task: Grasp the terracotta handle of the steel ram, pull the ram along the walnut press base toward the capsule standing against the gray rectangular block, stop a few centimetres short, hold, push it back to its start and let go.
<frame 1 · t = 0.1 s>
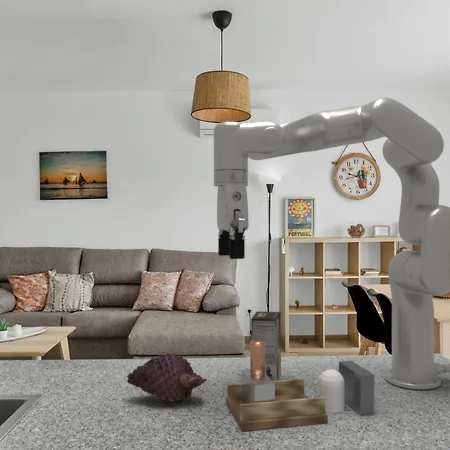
hand: (230, 256, 110), 31 cm above the kitchen counter, tool pointing down, fingers open, 9 cm apart
capsule: (331, 408, 104), on the kitchen counter
gray rectangular block: (355, 405, 105), on the kitchen counter
coffee box: (266, 380, 121), on the kitchen counter
ram: (257, 373, 100), point 8 cm above the kitchen counter, slide at 0.0 cm
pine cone: (167, 401, 108), on the kitchen counter
press base: (274, 413, 101), on the kitchen counter
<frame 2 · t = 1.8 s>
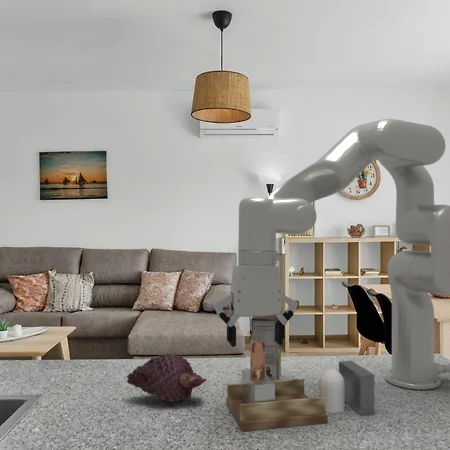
hand: (255, 344, 100), 14 cm above the kitchen counter, tool pointing down, fingers open, 9 cm apart
nothing on the kitchen counter moved.
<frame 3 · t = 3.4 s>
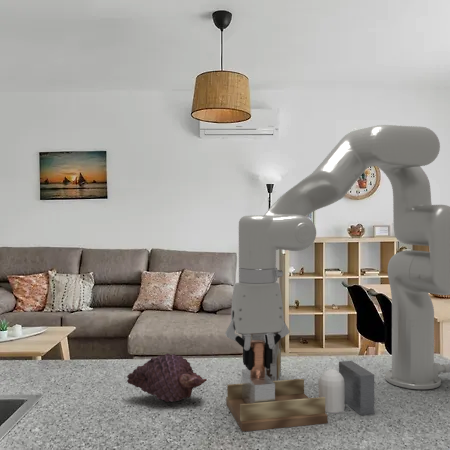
hand: (257, 366, 100), 10 cm above the kitchen counter, tool pointing down, fingers closed on ram, 3 cm apart
ram: (257, 373, 100), point 8 cm above the kitchen counter, slide at 0.0 cm, touching gripper
everything else where it was.
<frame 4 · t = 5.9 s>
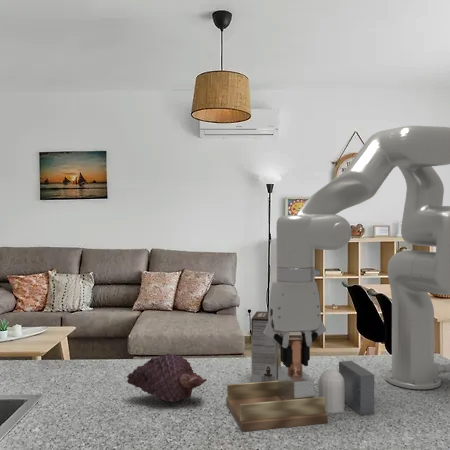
hand: (295, 364, 102), 10 cm above the kitchen counter, tool pointing down, fingers closed on ram, 3 cm apart
ram: (295, 370, 102), point 8 cm above the kitchen counter, slide at 8.0 cm, touching gripper
everything else where it was.
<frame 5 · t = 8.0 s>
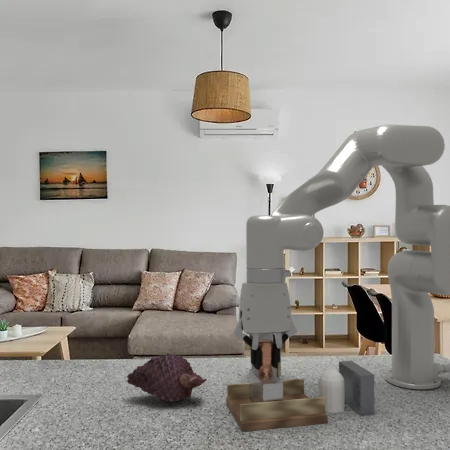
hand: (265, 366, 100), 10 cm above the kitchen counter, tool pointing down, fingers closed on ram, 3 cm apart
ram: (265, 373, 100), point 8 cm above the kitchen counter, slide at 1.6 cm, touching gripper
everything else where it was.
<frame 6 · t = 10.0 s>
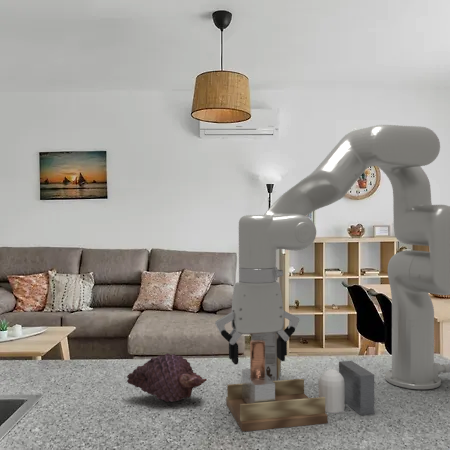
hand: (258, 360, 100), 11 cm above the kitchen counter, tool pointing down, fingers open, 9 cm apart
ram: (257, 373, 100), point 8 cm above the kitchen counter, slide at 0.0 cm
everything else where it was.
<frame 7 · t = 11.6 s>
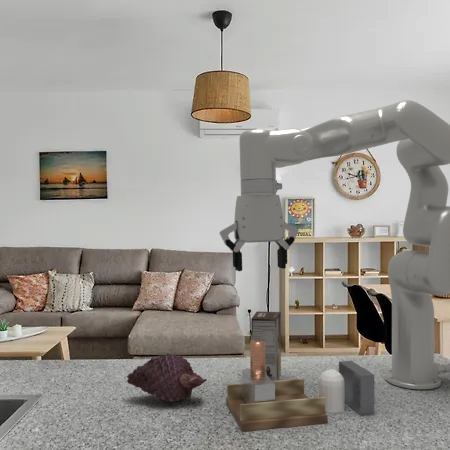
hand: (260, 269, 106), 29 cm above the kitchen counter, tool pointing down, fingers open, 9 cm apart
nothing on the kitchen counter moved.
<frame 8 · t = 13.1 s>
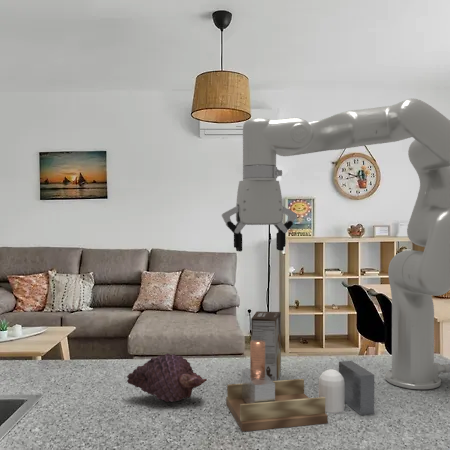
hand: (259, 250, 112), 32 cm above the kitchen counter, tool pointing down, fingers open, 9 cm apart
nothing on the kitchen counter moved.
at the end: ram slide at 0.0 cm; capsule moved 0.2 cm from its start; the gripper is holding nothing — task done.
